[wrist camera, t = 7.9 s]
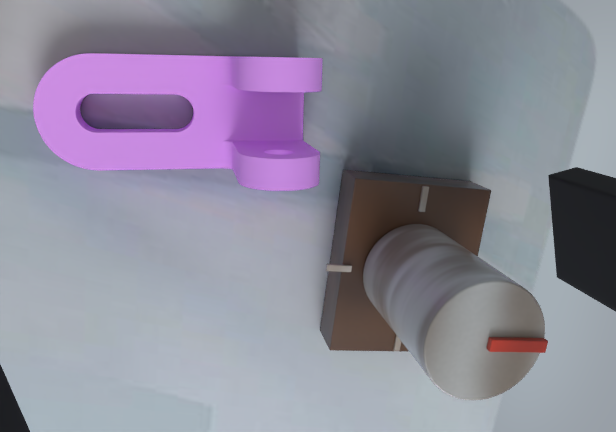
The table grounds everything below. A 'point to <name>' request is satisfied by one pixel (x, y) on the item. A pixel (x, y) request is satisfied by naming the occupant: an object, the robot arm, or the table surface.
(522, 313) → the dial
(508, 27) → the table surface
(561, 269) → the robot arm
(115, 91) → the bracket
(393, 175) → the panel
